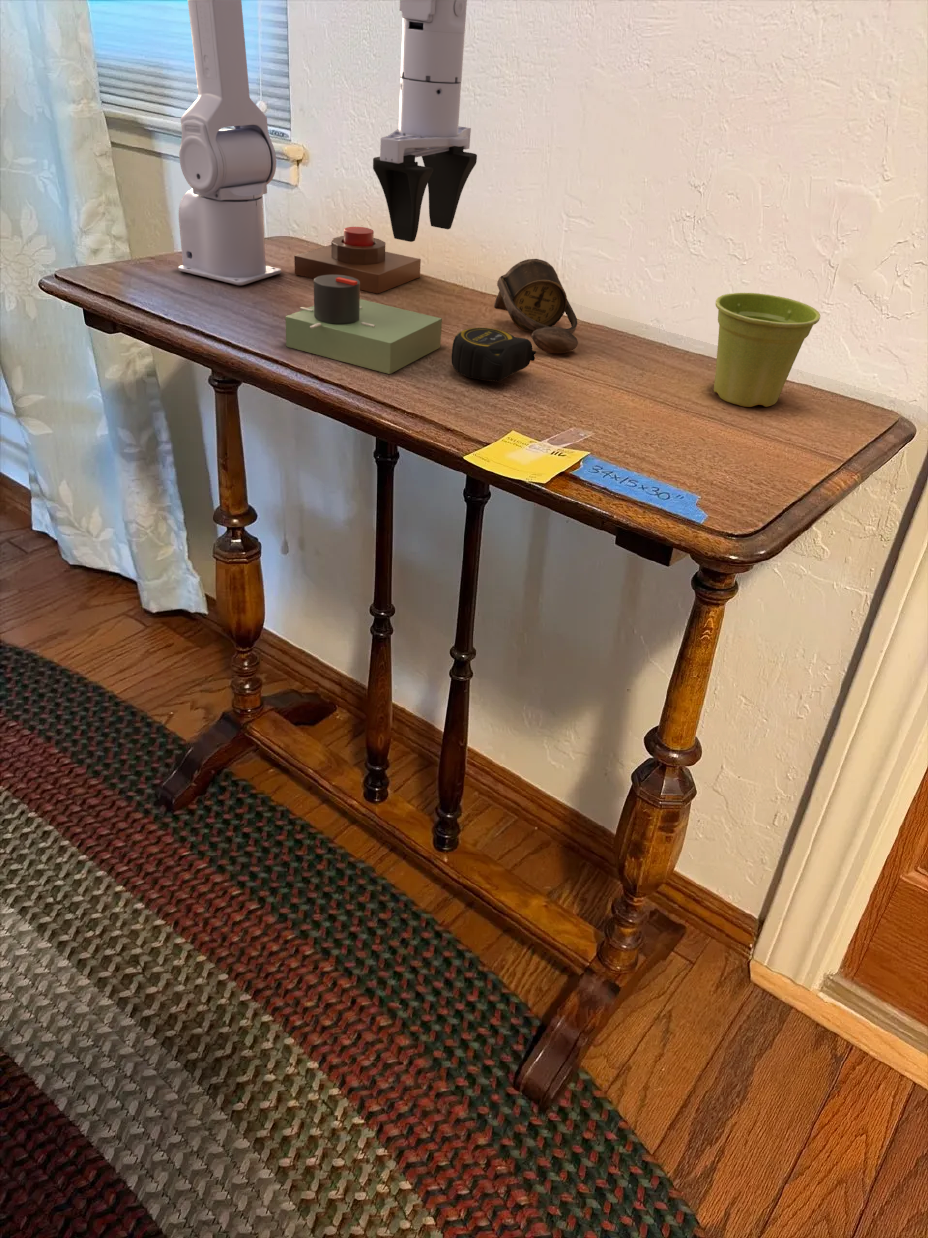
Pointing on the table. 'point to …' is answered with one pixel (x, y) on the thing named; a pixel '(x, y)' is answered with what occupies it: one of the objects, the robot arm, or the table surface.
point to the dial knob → (336, 299)
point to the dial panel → (367, 336)
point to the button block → (359, 264)
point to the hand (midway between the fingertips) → (423, 233)
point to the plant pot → (758, 345)
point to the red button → (358, 236)
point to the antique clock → (537, 304)
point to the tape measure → (490, 353)
